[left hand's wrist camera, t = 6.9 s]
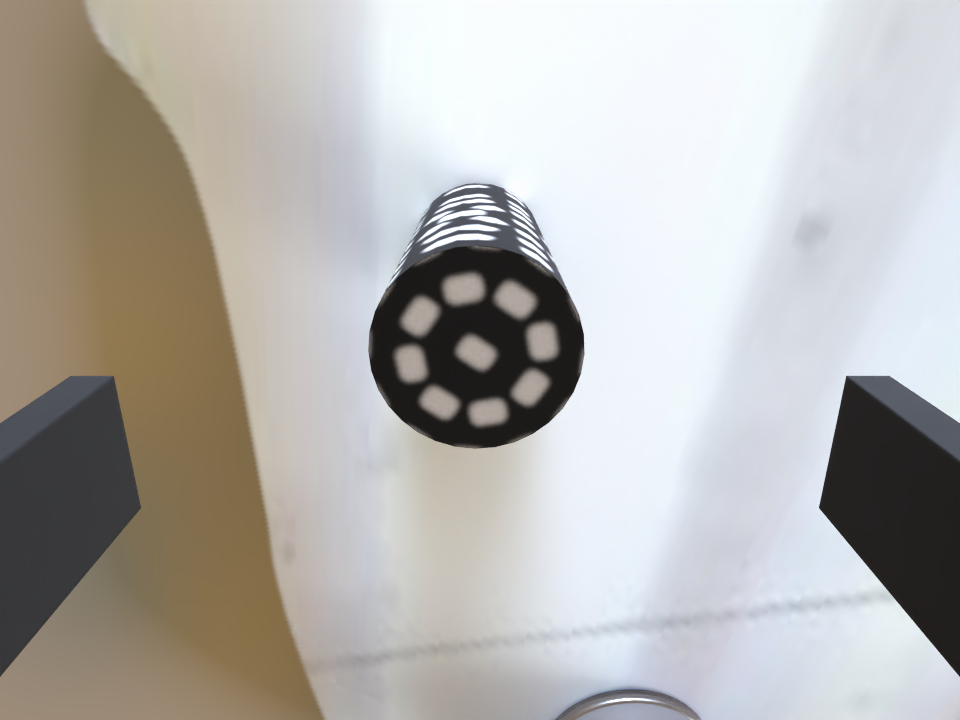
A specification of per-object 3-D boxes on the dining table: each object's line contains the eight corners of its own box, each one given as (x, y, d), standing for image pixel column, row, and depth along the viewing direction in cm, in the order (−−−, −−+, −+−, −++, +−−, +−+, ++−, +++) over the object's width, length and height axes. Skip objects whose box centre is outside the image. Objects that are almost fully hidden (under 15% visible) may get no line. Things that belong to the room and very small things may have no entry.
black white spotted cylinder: (566, 231, 44) (628, 326, 26) (493, 330, 47) (502, 483, 28) (461, 156, 43) (446, 199, 24) (391, 263, 45) (328, 378, 27)
